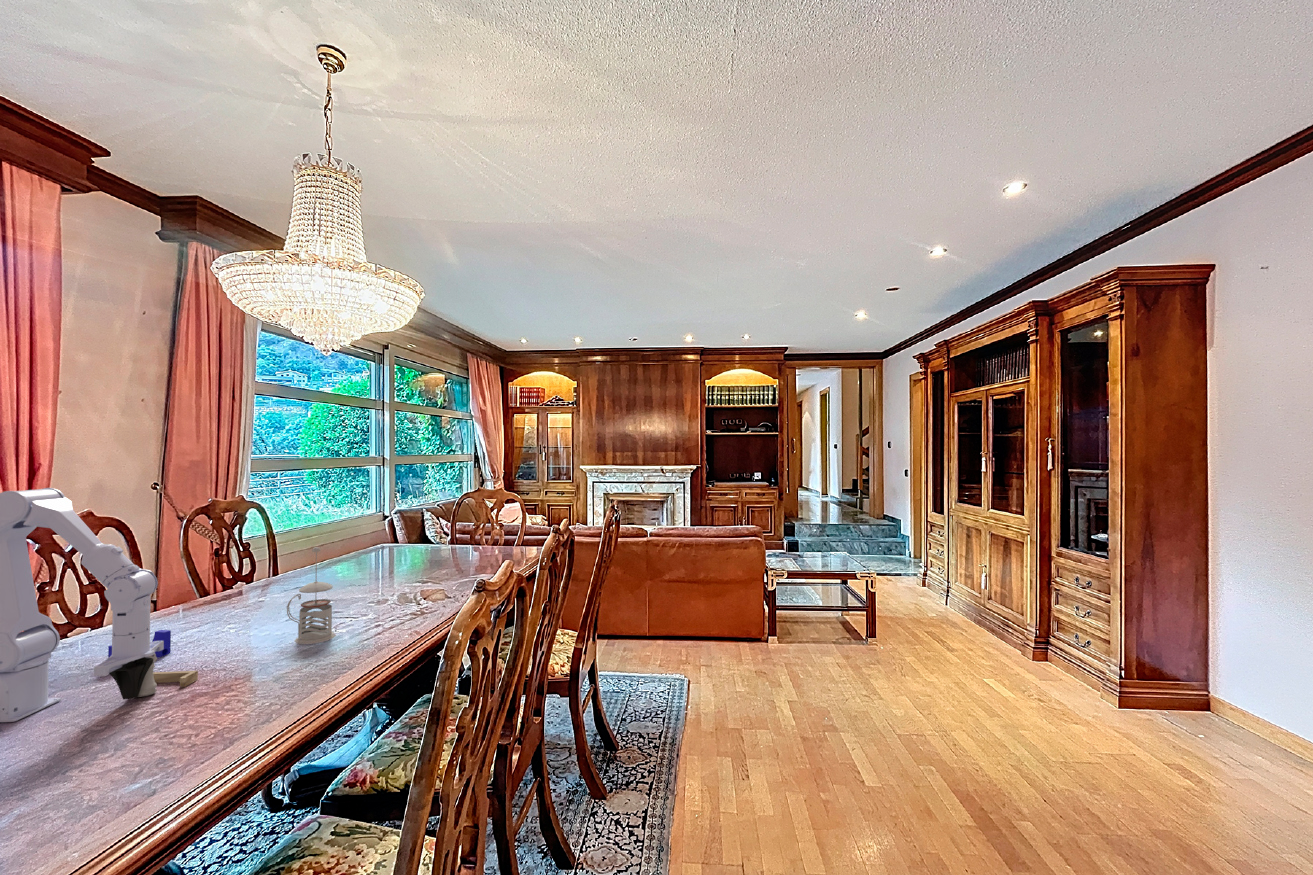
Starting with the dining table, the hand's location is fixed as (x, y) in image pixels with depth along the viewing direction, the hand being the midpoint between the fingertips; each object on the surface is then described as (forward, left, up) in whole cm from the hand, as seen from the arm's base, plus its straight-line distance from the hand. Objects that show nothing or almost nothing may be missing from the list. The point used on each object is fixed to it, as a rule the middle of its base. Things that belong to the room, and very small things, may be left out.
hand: (130, 697), depth 115 cm
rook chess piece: (+3, 0, -1) cm, 3 cm away
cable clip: (+24, +17, -1) cm, 29 cm away
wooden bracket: (+9, 0, -1) cm, 9 cm away
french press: (+38, -17, -1) cm, 41 cm away
